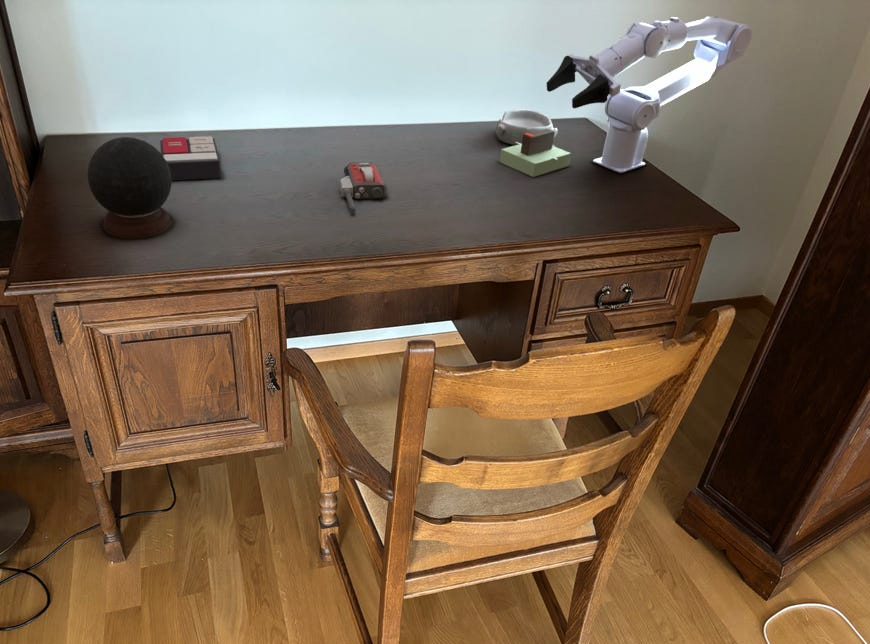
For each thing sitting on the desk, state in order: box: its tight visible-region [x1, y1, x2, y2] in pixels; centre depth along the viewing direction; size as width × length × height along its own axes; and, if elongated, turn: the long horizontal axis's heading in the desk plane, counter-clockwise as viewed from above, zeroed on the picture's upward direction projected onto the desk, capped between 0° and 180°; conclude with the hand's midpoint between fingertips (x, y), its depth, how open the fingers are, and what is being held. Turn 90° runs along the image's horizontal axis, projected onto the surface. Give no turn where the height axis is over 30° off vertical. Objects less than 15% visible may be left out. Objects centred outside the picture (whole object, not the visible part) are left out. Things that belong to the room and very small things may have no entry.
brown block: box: [521, 129, 555, 156], centre depth 163 cm, size 8×2×4 cm, turn 131°
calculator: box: [159, 135, 223, 181], centre depth 151 cm, size 11×4×15 cm
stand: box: [499, 142, 572, 178], centre depth 165 cm, size 12×12×3 cm
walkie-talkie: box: [339, 161, 387, 212], centre depth 145 cm, size 9×4×20 cm
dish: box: [495, 109, 558, 146], centre depth 178 cm, size 14×14×5 cm
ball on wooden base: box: [87, 136, 173, 240], centre depth 125 cm, size 13×13×15 cm
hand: (560, 95), depth 149 cm, fingers open, 7 cm apart
